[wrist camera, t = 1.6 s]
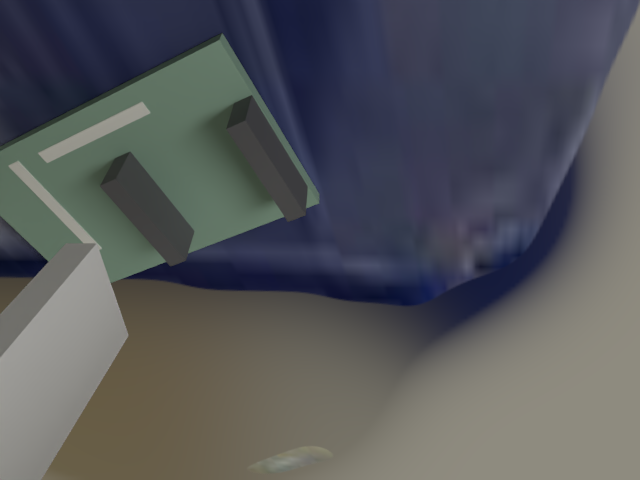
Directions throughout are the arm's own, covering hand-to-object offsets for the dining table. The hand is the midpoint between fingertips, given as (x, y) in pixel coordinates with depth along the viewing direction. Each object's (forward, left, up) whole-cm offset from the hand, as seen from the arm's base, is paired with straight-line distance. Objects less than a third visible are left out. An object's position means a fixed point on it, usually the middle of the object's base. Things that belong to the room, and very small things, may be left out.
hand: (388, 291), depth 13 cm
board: (+5, -18, -22) cm, 29 cm away
